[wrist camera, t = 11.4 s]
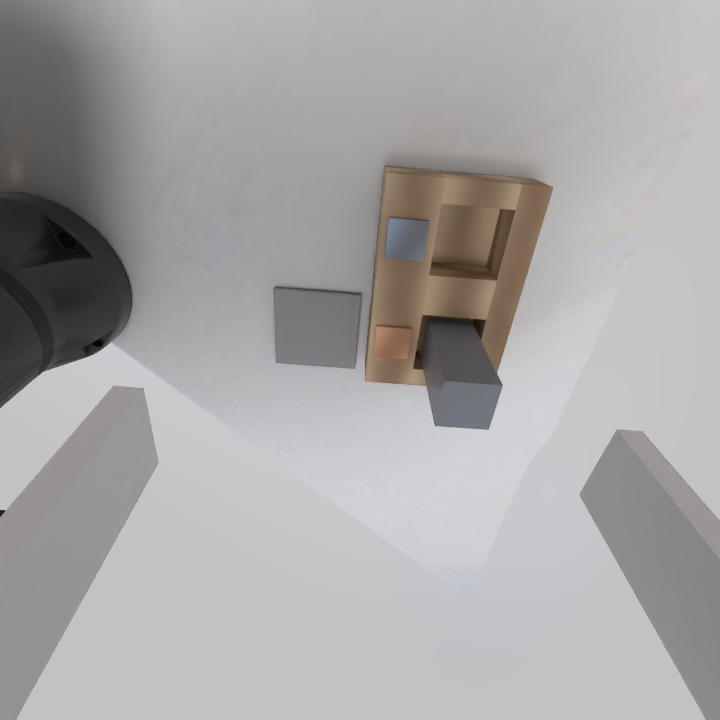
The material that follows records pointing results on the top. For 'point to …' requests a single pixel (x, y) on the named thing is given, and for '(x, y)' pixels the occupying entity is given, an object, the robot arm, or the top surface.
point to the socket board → (448, 261)
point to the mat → (316, 327)
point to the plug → (457, 373)
